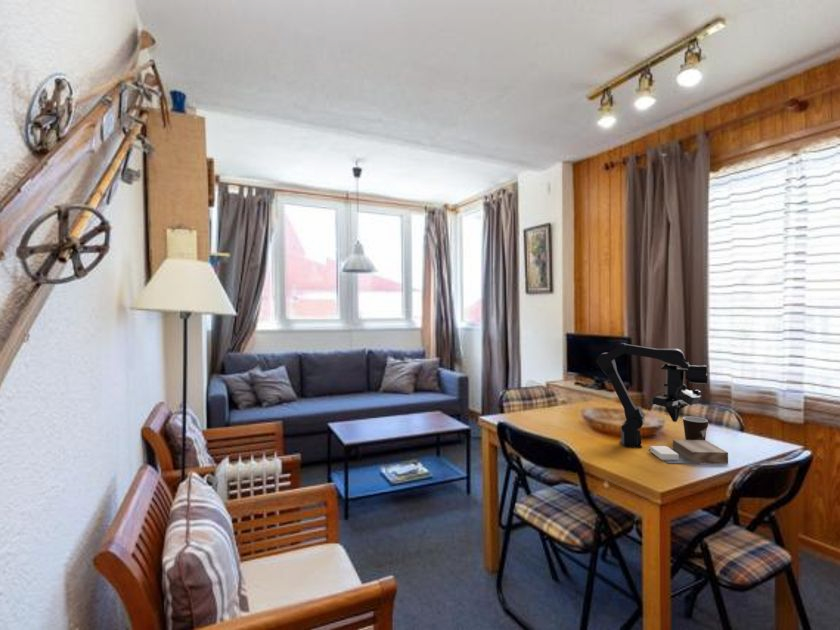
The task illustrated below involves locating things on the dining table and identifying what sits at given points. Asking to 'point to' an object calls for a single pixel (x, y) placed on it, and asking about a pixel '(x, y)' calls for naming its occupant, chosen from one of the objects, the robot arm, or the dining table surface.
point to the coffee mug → (695, 428)
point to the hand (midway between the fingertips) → (674, 421)
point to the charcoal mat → (680, 460)
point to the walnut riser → (700, 451)
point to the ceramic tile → (664, 453)
